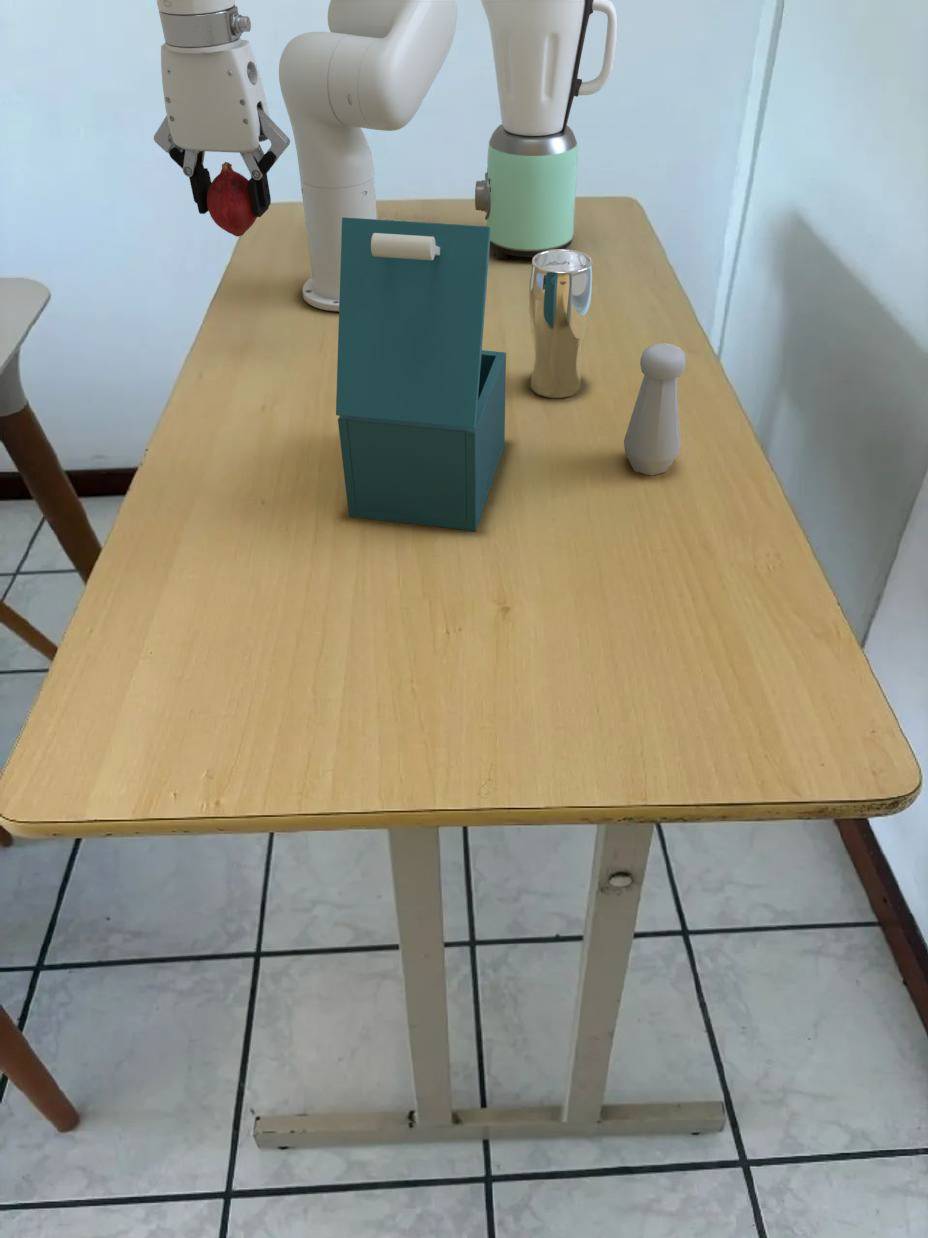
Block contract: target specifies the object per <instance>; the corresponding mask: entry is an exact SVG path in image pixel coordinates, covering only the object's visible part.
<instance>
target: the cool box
mask: <svg viewBox="0 0 928 1238" xmlns="http://www.w3.org/2000/svg"><path fill="white" fill-rule="evenodd" d="M506 375H507V352H506V351H505V352H504V351H495V350H483V349H482V354H481V367H480V380H479V393H478V406H477V420H476V428H474V429H473V428H463V427H452V426H442V425H432V424H421V423H411V422H401V421H391V420H380V419H370V418H360V417H349V416H339V415H338V417H337V424H338V433H339V442H340V451H341V459H342V460H341V461H342V469H343V475H344V476H343V477H344V485H345V486H344V487H345V494H346V495H345V496H346V502H347V503H346V504H347V509H348V512H347V513H348V517H350V518H360V519H368V520H376V521H385V522H393V523H402V524H411V525H419V526H428V527H437V528H444V529H445V528H447V529H454V530H461V531H462V530H463V531H472V532H476V531H477V529H478V526H479V524H480V520H481V518H482V514H483V511H484V508H485V505H486V502H487V499H488V496H489V493H490V490H491V487H492V484H493V481H494V478H495V475H496V472H497V469H498V466H499V463H500V460H501V457H502V453H503V451H504V449H505V445H506V444H505V443H506V442H505V439H506V437H505V436H506V384H507V383H506V380H507V377H506Z"/></svg>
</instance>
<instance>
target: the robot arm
mask: <svg viewBox="0 0 928 1238" xmlns="http://www.w3.org/2000/svg"><path fill="white" fill-rule="evenodd" d="M156 4H157V9H158V14H159V19H160V24H161V28H162V33H163V38H164V43H163V44H162V45H161V46H160V68H161V69H160V70H161V71H160V72H161V82H162V92H163V93H162V94H163V100H164V108H165V113H166V115H165V117H164V119H163V121H162V122H161V124H160V125H159V127H158V129H157V130H156V132H155V133H154V135H153V140H154V142H155V144H156V145H158V146H159V147H160V148H161V149H162V150H163V151H164V152H166V153H167V154H169V157H170V158H171V160H172V161H173V162H175V163H176V164H177V165H178V166H179V167H180V168H181V169H182V172H183V174H184V176H186V177H188V178H189V183H190V188H191V192H192V198H193V202H194V203H195V204H196V205H197V210H198V213H199V214H200V215H205V214H207V213H209V210H208V208H207V192H208V189H209V186H210V184H211V183H212V178H211V174H210V171H209V170H208V169H209V168H207V167H205V166H204V161H205V155H206V152H212V153H233V154H234V153H235V154H237V153H238V154H240V156H241V158H242V160H243V162H244V164H245V166H246V168H247V170H248V172H249V174H250V179H248V187H249V193H250V198H251V204H252V210H253V215H254V216H255V217H257V218H261V217H262V216H263V215H264V214H265V213H266V212H267V211H268V210H269V208H270V205H271V203H272V201H271V200H272V197H271V192H270V185H269V179H268V172H269V171H270V170H271V168H272V167H273V166H274V165H275V163H276V162H277V161H278V159H279V158H280V157H281V155H282V154H284V152H285V151H286V149H287V148H288V147H289V146H290V144H291V140H290V137H288V136H287V134H285V132H284V131H283V130H282V129H281V128H280V127H279V126H278V125H277V124H276V123H275V122H274V121H273V120H272V119H271V117H270V112H269V108H268V103H267V98H266V95H265V91H264V86H263V85H264V84H263V81H262V78H261V74H260V71H259V67H258V63H257V61H256V58H255V54H254V52H253V49H252V47H251V44H250V41H249V40H247V39H242V38H241V37H242V35H243V33H249V32H250V31H251V29H252V22H251V19H250V17H249V16H248V15H242V14H240V13H239V8H238V6H237V5H236V3H235V0H156ZM457 10H458V8H457V1H456V0H330V1H329V5H328V9H327V26H328V29H329V31H309V32H303V33H301V34H298V35H296V36H294V37H293V38H292V39H291V40H290V41H288V43H287V44H286V45H285V47H284V48H283V50H282V53H281V55H280V59H279V63H278V80H279V86H280V92H281V95H282V99H283V102H284V105H285V110H286V111H287V115H288V118H289V122H290V125H291V130H292V133H293V134H292V135H293V138H294V144H295V148H296V150H295V151H296V156H297V157H296V158H297V163H298V171H299V172H298V173H299V179H300V180H299V181H300V189H301V197H302V205H303V212H304V213H303V214H304V221H305V230H306V237H307V245H308V246H307V247H308V254H309V262H310V263H309V264H310V271H311V277H310V278H308V279H307V280H306V281H305V283H304V284H303V286H302V289H301V290H302V297H303V300H304V301H305V302H306V303H307V304H308V305H310V306H312V307H314V308H316V309H320V310H324V311H327V312H336V313H339V299H340V267H341V235H342V218H343V217H345V218H362V219H378V211H377V199H376V197H377V196H376V184H375V183H376V182H375V167H374V159H373V154H372V151H371V148H370V144H369V142H368V140H367V137H366V135H365V134H364V132H363V130H362V129H368V130H375V131H383V132H384V131H385V132H386V131H387V132H392V131H393V132H394V131H397V130H401V129H403V128H404V127H406V126H407V125H408V124H409V123H410V122H411V121H412V120H413V118H414V117H415V115H416V114H417V113H418V111H419V109H420V107H421V105H422V103H423V102H424V100H425V98H426V96H427V94H428V93H429V90H430V89H431V87H432V86H433V83H434V82H435V80H436V78H437V76H438V74H439V73H440V70H441V68H442V67H443V65H444V64H445V61H446V59H447V57H448V55H449V53H450V50H451V48H452V45H453V43H454V38H455V35H456V30H457V19H458V11H457ZM267 140H268V141H269V142H270V144H271V145H270V147H269V149H268V150H267V151H266V152H264V151H263V148H262V146H261V144H260V143H261V142H266V141H267Z"/></svg>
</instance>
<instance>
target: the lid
mask: <svg viewBox="0 0 928 1238" xmlns="http://www.w3.org/2000/svg"><path fill="white" fill-rule="evenodd" d="M490 235H491V227H489V226H487V225H474V224H473V225H471V224H458V223H441V222H423V221H408V220H407V221H406V220H394V219H393V220H392V219H379V218H377V219H362V218H345V217H343V218H342V235H341V267H340V299H339V312H338V332H337V333H338V334H337V335H338V336H337V365H336V366H337V367H336V368H337V369H336V395H335V397H336V399H335V415H336V416H338V417H339V416H349V417H360V418H370V419H380V420H391V421H401V422H411V423H421V424H432V425H442V426H452V427H463V428H473V429H474V428H476V420H477V406H478V393H479V380H480V367H481V354H482V350H483V342H484V341H483V339H484V327H485V313H486V300H487V299H486V298H487V286H488V275H489V274H488V273H489V262H490V261H489V260H490V248H491V247H490V246H491V245H490Z"/></svg>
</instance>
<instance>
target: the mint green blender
mask: <svg viewBox="0 0 928 1238" xmlns="http://www.w3.org/2000/svg"><path fill="white" fill-rule="evenodd" d="M480 2H481V5H482V8H483V10H484V13H485V16H486V19H487V22H488V27H489V33H490V40H491V47H492V48H491V49H492V55H493V62H494V64H493V65H494V71H495V79H496V88H497V95H498V102H499V103H498V104H499V110H500V118H501V124H499V125H498V126H497V127H496V129H495V130H494V131H493V132H492V134H491V136H490V139H489V140H488V146H487V158H486V159H487V162H486V163H487V165H486V172H485V173H484V179H481V180H476V181H475V188H474V208H475V209H474V210H475V211H480V212H484V213H485V215H484V220H486V226H489V227H491V235H490V246H491V247H492V248H493V249H494V250H495V258H496V259H498V260H507V259H509V258H510V256H512V257H520V258H533V257H534V256H535V255H537V254H538V253H541V252H543V251H547V250H553V249H568V247H569V246H570V245H571V244H572V242H573V239H574V236H575V216H576V200H577V184H578V183H577V181H578V163H579V149H578V147H579V146H578V142H577V139H576V136H575V134H574V131H573V129H572V128H571V127H570V126H569V125H568V121H569V118H570V114H571V109H572V105H573V102H574V98H575V97H576V98H578V97H579V96H591V95H593V94H596V93H598V92H599V91H601V90H602V89H603V88H604V87H605V86H606V85H607V83H608V82H609V81H610V78H611V76H612V73H613V69H614V66H615V60H616V54H617V53H616V52H617V40H618V39H617V38H618V28H619V27H618V25H619V24H618V23H619V21H618V12H617V8H616V5H615V4H614V3H613V1H611V0H480ZM594 11H597V12H601V13H604V14H605V15H606V17H607V25H606V35H605V36H606V37H605V44H604V51H603V52H604V53H603V59H602V65H601V70H600V72H599V74H598V75H597V76H596V77H595V78H593V79H591V80H587V81H583V79H582V78H578V77H579V70H580V64H581V59H582V54H583V48H584V43H585V39H586V33H587V28H588V25H589V20H590V16H591V15H592V14H593V13H594Z"/></svg>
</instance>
